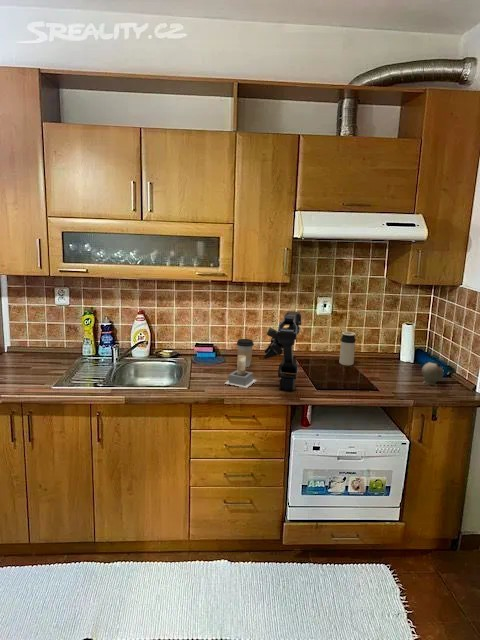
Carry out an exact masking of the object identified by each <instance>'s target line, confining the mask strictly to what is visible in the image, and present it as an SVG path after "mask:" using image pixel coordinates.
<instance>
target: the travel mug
mask: <svg viewBox="0 0 480 640" xmlns="http://www.w3.org/2000/svg"><path fill="white" fill-rule="evenodd" d="M341 335H342V336H341V338H340V348H339V361H338V362H339V364H340V365H341V366H353V365H354V363H355V362H354V361H355V348H356V340H357V339H356V335H357V333H355V332H353V331H342V332H341Z"/></svg>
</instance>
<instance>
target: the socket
mask: <svg viewBox="0 0 480 640" xmlns="http://www.w3.org/2000/svg"><path fill="white" fill-rule="evenodd" d="M256 381H257V382H258V380H257V379H254V372H252V371H248V370H245V376H238V375H237V369H236V370H234V371H232V372H231V373H229V374H228V380H226V382H224V385H225V384H230V385H235V386H239V387H244V388H248V387H249V386H251V385H252V384H253V383H255V382H256ZM257 382H256V383H257ZM256 383H255V384H256ZM253 385H254V384H253ZM253 385H252V386H253ZM252 386H251V387H252ZM249 388H250V387H249ZM249 388H248V389H249Z"/></svg>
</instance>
